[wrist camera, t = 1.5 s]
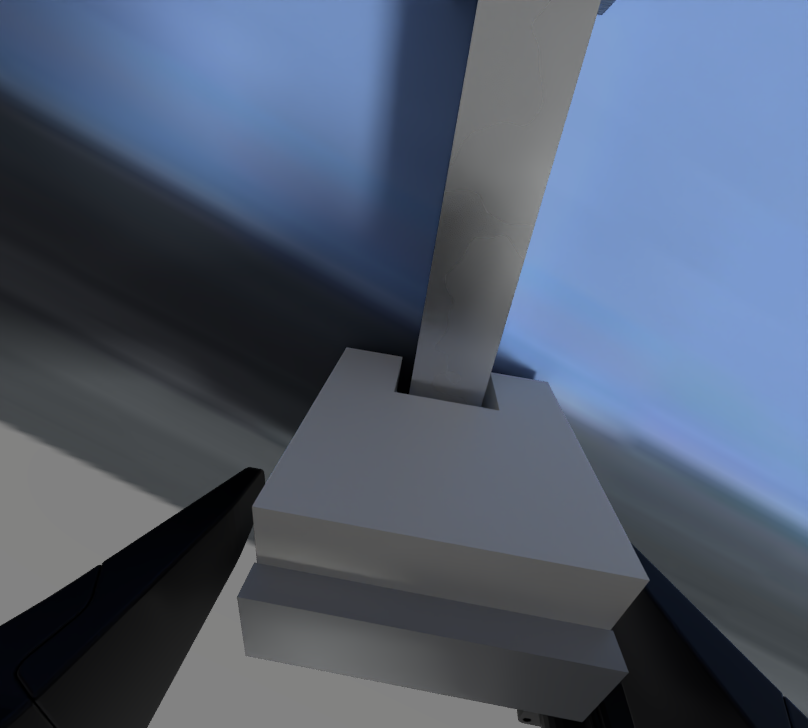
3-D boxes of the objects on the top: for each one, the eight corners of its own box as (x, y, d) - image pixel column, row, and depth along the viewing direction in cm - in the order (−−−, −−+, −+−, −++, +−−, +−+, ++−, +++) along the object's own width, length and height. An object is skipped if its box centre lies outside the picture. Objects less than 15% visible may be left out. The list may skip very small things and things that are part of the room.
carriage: (505, 494, 13) (555, 750, 7) (336, 463, 14) (250, 689, 8) (549, 382, 11) (674, 622, 5) (344, 347, 11) (229, 538, 5)
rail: (448, 523, 15) (450, 592, 12) (374, 509, 15) (360, 574, 12) (622, -54, 7) (723, -187, 4) (460, -77, 7) (468, -219, 4)
